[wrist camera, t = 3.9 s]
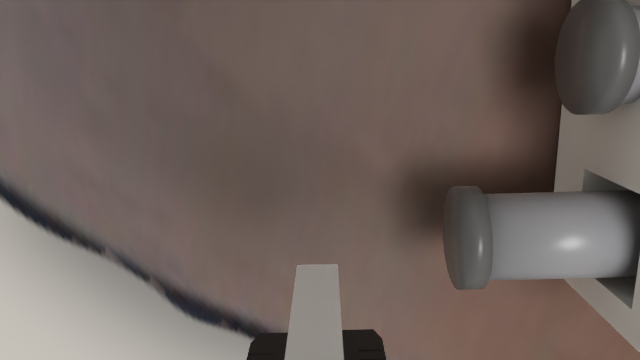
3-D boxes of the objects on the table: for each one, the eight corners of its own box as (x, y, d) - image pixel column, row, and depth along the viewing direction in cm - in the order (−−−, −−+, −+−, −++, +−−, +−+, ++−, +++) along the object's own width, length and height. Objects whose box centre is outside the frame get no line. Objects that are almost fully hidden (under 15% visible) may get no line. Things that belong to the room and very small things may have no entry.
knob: (444, 175, 24) (471, 204, 20) (625, 170, 24) (696, 198, 19) (441, 263, 26) (466, 309, 21) (614, 259, 25) (678, 305, 21)
